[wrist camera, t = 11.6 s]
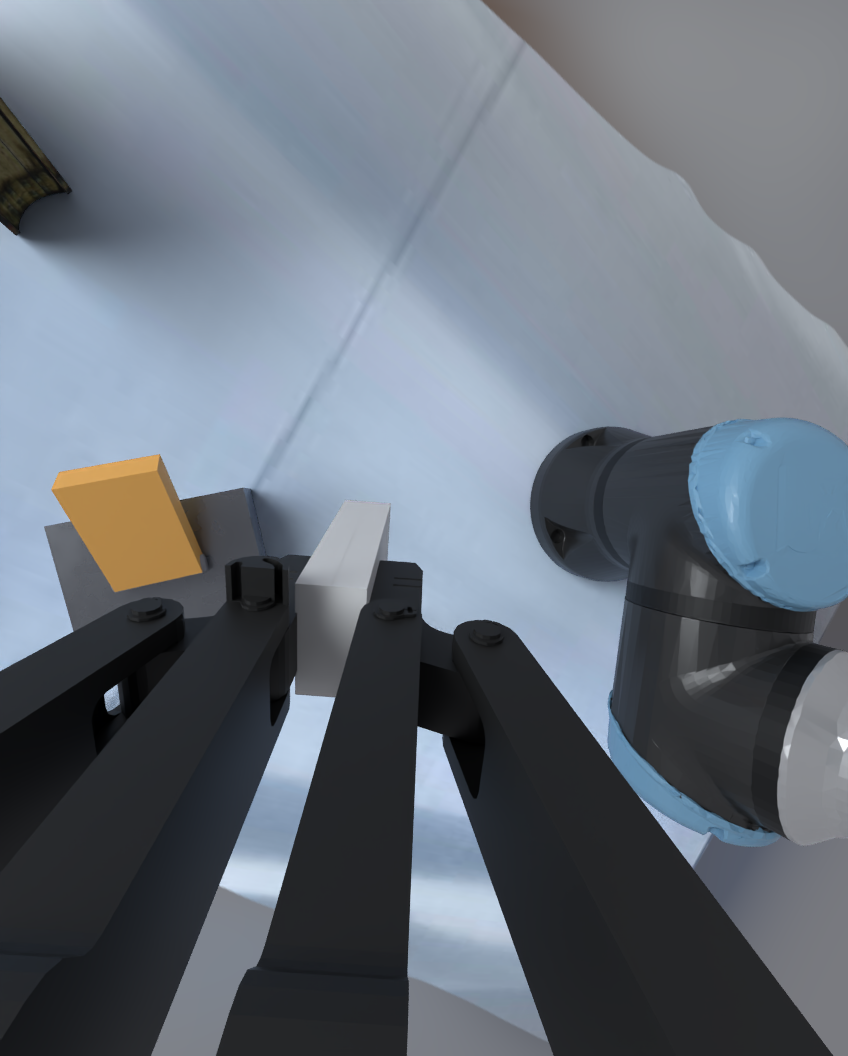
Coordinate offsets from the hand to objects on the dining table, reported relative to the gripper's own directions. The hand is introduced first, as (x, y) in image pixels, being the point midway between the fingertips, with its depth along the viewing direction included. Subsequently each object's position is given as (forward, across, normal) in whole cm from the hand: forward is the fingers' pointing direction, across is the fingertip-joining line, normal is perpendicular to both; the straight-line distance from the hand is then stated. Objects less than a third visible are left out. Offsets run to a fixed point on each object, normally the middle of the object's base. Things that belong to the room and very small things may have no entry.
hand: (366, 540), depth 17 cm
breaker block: (+24, +18, +12) cm, 33 cm away
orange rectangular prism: (+19, +17, +11) cm, 28 cm away
